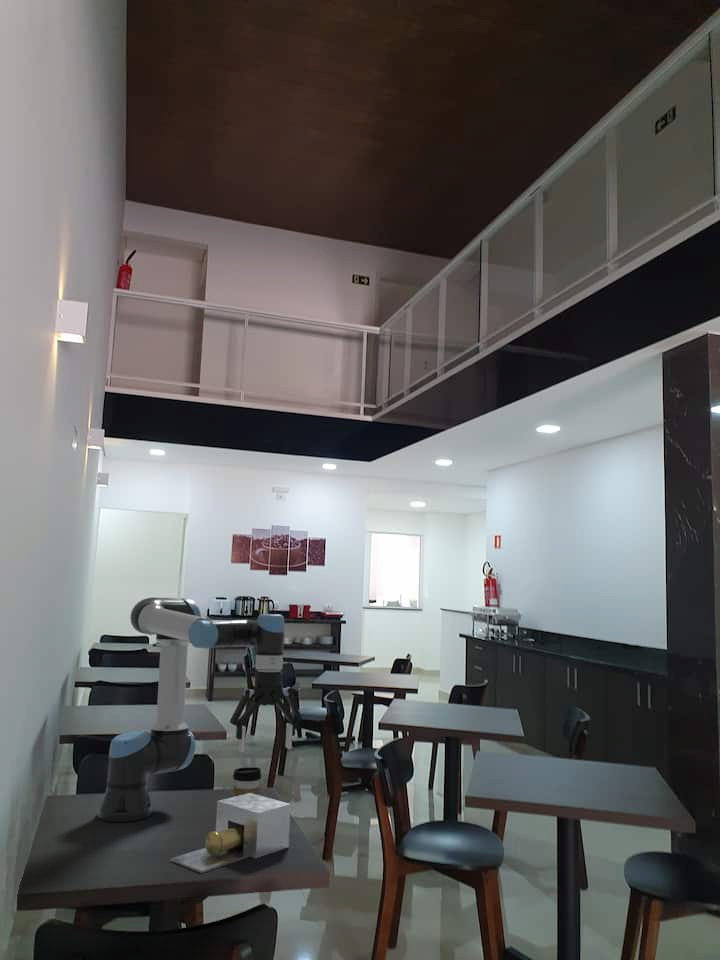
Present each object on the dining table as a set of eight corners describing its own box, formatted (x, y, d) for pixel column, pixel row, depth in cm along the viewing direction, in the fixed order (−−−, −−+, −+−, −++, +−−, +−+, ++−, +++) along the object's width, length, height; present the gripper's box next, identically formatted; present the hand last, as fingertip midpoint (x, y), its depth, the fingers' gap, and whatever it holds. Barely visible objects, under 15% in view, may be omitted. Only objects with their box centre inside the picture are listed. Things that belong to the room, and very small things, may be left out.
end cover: (204, 853, 190) (206, 829, 190) (244, 840, 200) (245, 818, 201) (218, 858, 186) (220, 834, 187) (259, 845, 197) (260, 823, 197)
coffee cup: (253, 827, 214) (256, 773, 216) (226, 824, 216) (229, 770, 218) (263, 818, 222) (265, 766, 224) (236, 816, 224) (239, 764, 226)
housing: (165, 859, 186) (168, 813, 188) (248, 833, 208) (250, 792, 210) (206, 875, 176) (209, 826, 178) (288, 847, 198) (290, 804, 200)
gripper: (229, 672, 197) (225, 755, 193) (315, 670, 208) (312, 749, 204) (221, 669, 203) (217, 750, 200) (305, 668, 214) (302, 744, 211)
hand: (265, 750), depth 202 cm, fingers open, 13 cm apart
